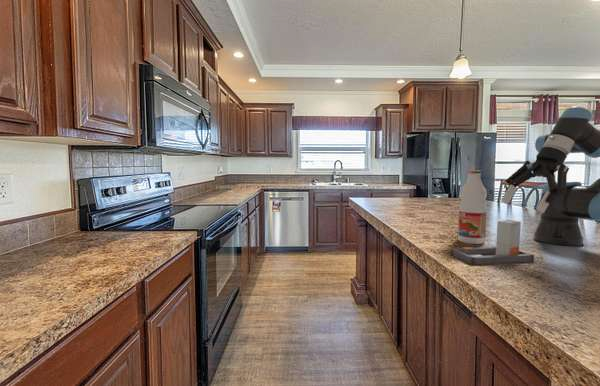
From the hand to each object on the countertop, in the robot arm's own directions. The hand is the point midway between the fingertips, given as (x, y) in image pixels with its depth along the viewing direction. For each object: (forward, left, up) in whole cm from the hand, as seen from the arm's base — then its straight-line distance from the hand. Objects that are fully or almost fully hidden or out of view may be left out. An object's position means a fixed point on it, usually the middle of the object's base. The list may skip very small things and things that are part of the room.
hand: (520, 206), depth 108 cm
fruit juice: (+5, -18, -16) cm, 25 cm away
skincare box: (+7, +3, -16) cm, 18 cm away
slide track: (+13, +3, -16) cm, 21 cm away
